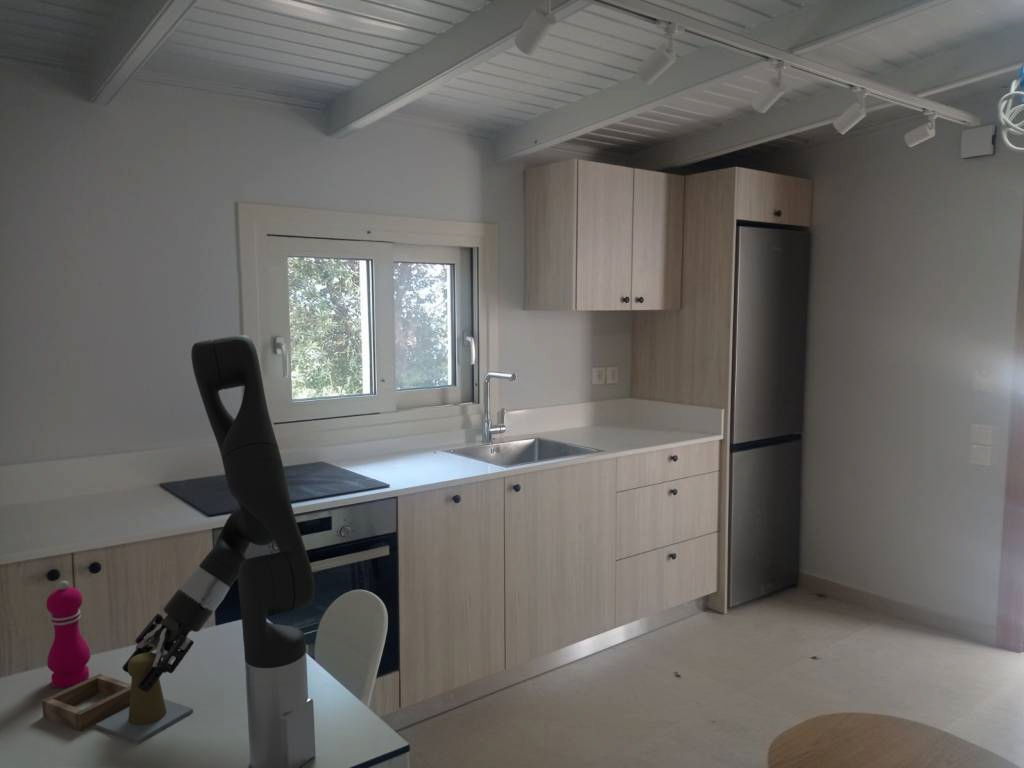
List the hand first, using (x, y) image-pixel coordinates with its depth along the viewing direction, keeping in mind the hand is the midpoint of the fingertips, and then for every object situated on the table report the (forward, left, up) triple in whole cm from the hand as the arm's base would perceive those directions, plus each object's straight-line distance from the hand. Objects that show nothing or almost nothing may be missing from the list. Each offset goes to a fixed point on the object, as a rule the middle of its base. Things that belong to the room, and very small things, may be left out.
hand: (134, 680), depth 130 cm
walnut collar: (+12, +1, -8) cm, 14 cm away
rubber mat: (0, -1, -8) cm, 8 cm away
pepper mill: (+26, -4, -8) cm, 27 cm away
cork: (-1, -2, -7) cm, 7 cm away
